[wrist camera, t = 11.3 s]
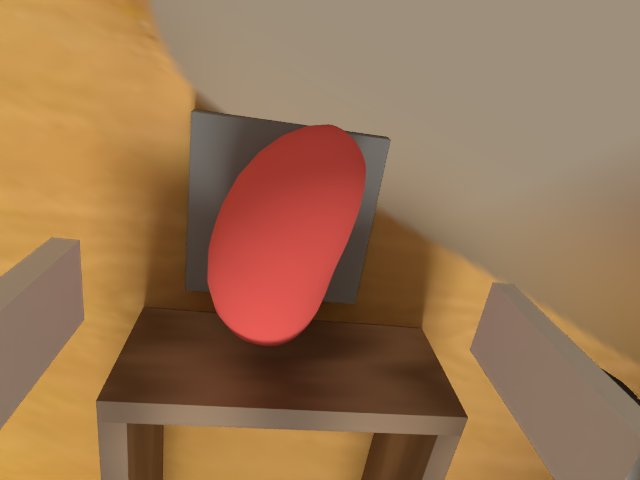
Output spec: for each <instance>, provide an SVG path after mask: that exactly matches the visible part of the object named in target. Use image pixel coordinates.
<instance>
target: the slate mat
mask: <svg viewBox="0 0 640 480" xmlns="http://www.w3.org/2000/svg"><path fill="white" fill-rule="evenodd" d="M306 126H307V125H300V124H293V123H286V122H278V121H272V120H265V119H257V118H251V117H244V116H237V115H230V114H223V113H216V112H209V111H202V110H195V109H194V110H193V111H192V113H191V141H190V169H189V197H188V225H187V253H186V281H185V290H188V291H200V292H210V289H209V286H208V282H207V274H208V250H209V245H210V240H211V236H212V232H213V229H214V226H215V223H216V220H217V217H218V214H219V212H220V209H221V207H222V204H223V202H224V200H225V198H226V197H227V195H228V193H229V191H230V190H231V188H232V186H233V184H234V182H235V181H236V179H237V177H238V175H239V174H240V173H241V172H242V171H243V170H244V169H245V168H246V166H247V165H248V164H249V163H250V162H251V161H252V160H253V159H254V157H255V156H256V155H257V154H258V153H259V152H260V151H262V150H263V149H264V148H266V147H267V146H269V145H270V144H271V143H273V142H274V141H275V140H277V139H278V138H280V137H281V136H283V135H285V134H288V133H290V132H293V131H295V130H298V129H300V128H303V127H306ZM345 132H346V133H347V134H349V135H350V136H351V137H352V138H353V139H354V141H355V142H356V143H357V145H358V146H359V148H360V150H361V152H362V154H363V157H364V159H365V164H366V176H365V188H364V192H363V197H362V201H361V205H360V209H359V212H358V215H357V218H356V221H355V224H354V227H353V229H352V232H351V234H350V237H349V239H348V242H347V244H346V246H345V249H344V251H343V253H342V255H341V257H340V259H339V261H338V263H337V266H336V268H335V270H334V272H333V275H332V278H331V280H330V283H329V286H328V288H327V291H326V294H325V296H324V298H323V300H322V302H333V303H346V304H355V302H356V297H357V292H358V288H359V283H360V279H361V274H362V269H363V265H364V260H365V256H366V251H367V246H368V242H369V237H370V232H371V228H372V223H373V219H374V214H375V209H376V205H377V200H378V195H379V191H380V186H381V181H382V177H383V172H384V168H385V163H386V158H387V154H388V149H389V145H390V139H389V138H388V137H384V136H377V135H370V134H363V133H356V132H349V131H345Z"/></svg>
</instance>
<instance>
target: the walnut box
mask: <svg viewBox="0 0 640 480" xmlns="http://www.w3.org/2000/svg"><path fill="white" fill-rule="evenodd" d="M96 408H97V423H98V438H99V453H100V469H101V480H163V425H185V426H211V427H238V428H264V429H290V430H317V431H343V432H370V433H374V436H373V440H372V444H371V447H370V451H369V455H368V458H367V462H366V465H365V469H364V473H363V476H362V480H444V479H445V476H446V474H447V471H448V469H449V466H450V463H451V461H452V458H453V456H454V453H455V450H456V448H457V445H458V443H459V440H460V437H461V435H462V432H463V430H464V427H465V424H466V422H467V419H468V417H467V415H466V413H465V411H464V409H463V407H462V405H461V403H460V401H459V399H458V397H457V395H456V393H455V391H454V390H453V388H452V386H451V384H450V382H449V380H448V378H447V376H446V374H445V372H444V370H443V368H442V366H441V365H440V363H439V361H438V359H437V357H436V355H435V353H434V351H433V349H432V347H431V345H430V343H429V341H428V339H427V338H426V336H425V334H424V332H423V330H422V328H409V327H396V326H383V325H370V324H356V323H343V322H330V321H317V320H311V322H310V323H309V325H308V326H307V327H306V328H305V329H304V330H303V331H302V332H301V333H300V334H299V335H298V336H297V337H295V338H294V339H292V340H291V341H289V342H287V343H284V344H282V345H278V346H261V345H256V344H252V343H249V342H246V341H244V340H242V339H240V338H239V337H237V336H236V335H235V334H234V333H233V332H232V331H231V330H230V329H229V327H228V326H227V325H226V324H225V323H224V322H223V320H222V319H221V318H220V317H219V315H218V314H217V313H211V312H198V311H185V310H172V309H159V308H145V307H143V309H142V311H141V313H140V315H139V317H138V319H137V321H136V323H135V325H134V327H133V329H132V331H131V333H130V335H129V337H128V339H127V341H126V343H125V345H124V347H123V349H122V351H121V353H120V355H119V357H118V359H117V361H116V363H115V365H114V367H113V369H112V371H111V373H110V374H109V376H108V378H107V380H106V382H105V384H104V386H103V388H102V390H101V392H100V394H99V396H98V398H97V400H96Z"/></svg>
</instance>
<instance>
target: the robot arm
mask: <svg viewBox="0 0 640 480" xmlns="http://www.w3.org/2000/svg"><path fill="white" fill-rule="evenodd" d="M83 320H84V308H83V291H82V274H81V257H80V241H79V240H73V239H63V238H53V237H52V238H50V239H49V240H48V241H47V242H45V243H44V244H43V245H41V246H40V247H39V248H37V249H36V250H35V251H34V252H32V253H31V254H30V255H28V256H27V257H26V258H25V259H23V260H22V261H21V262H19V263H18V264H17V265H15V266H14V267H13V268H12V269H10V270H9V271H8V272H6V273H5V274H4V275H3V276H1V277H0V430H1V428H2V427H3V426H4V424H5V423H6V422H7V420H8V419H9V418H10V416H11V415H12V414H13V412H14V411H15V410H16V408H17V407H18V406H19V404H20V403H21V402H22V401H23V399H24V398H25V397H26V395H27V394H28V393H29V391H30V390H31V389H32V387H33V386H34V385H35V383H36V382H37V381H38V379H39V378H40V377H41V376H42V374H43V373H44V372H45V370H46V369H47V368H48V366H49V365H50V364H51V362H52V361H53V360H54V358H55V357H56V356H57V354H58V353H59V352H60V351H61V349H62V348H63V347H64V345H65V344H66V343H67V341H68V340H69V339H70V337H71V336H72V335H73V333H74V332H75V331H76V329H77V328H78V327H79V326H80V324H81V323H82V322H83ZM470 351H471V352H472V354H473V355H474V357H475V358H476V360H477V361H478V363H479V365H480V366H481V368H482V369H483V371H484V372H485V374H486V375H487V377H488V378H489V380H490V381H491V383H492V385H493V386H494V388H495V389H496V391H497V392H498V394H499V395H500V397H501V398H502V400H503V401H504V403H505V405H506V406H507V408H508V409H509V411H510V412H511V414H512V415H513V417H514V418H515V420H516V421H517V423H518V424H519V426H520V428H521V429H522V431H523V432H524V434H525V435H526V437H527V438H528V440H529V441H530V443H531V444H532V446H533V448H534V449H535V451H536V452H537V454H538V455H539V457H540V458H541V460H542V461H543V463H544V464H545V466H546V467H547V469H548V471H549V472H550V474H551V475H552V477H553V478H554V480H640V400H639V399H637V396H636V395H635V394H634V393H633V392H632V391H631V390H630V389H629V388H628V387H627V386H626V385H625V384H624V383H623V382H621V381H620V380H618V379H617V378H615V377H614V376H612V375H611V374H609V373H608V372H606V371H605V370H603V369H601V368H600V367H599V366H598V365H597V364H596V363H595V362H594V361H593V360H592V359H590V358H589V357H588V356H587V355H586V354H585V353H584V352H583V351H582V350H581V349H580V348H579V347H578V346H577V345H576V344H575V343H574V342H573V341H572V340H571V339H570V338H569V337H568V336H567V335H566V334H565V333H564V332H563V331H561V330H560V329H559V328H558V327H557V326H556V325H555V324H554V323H553V322H552V321H551V320H550V319H549V318H548V317H547V316H546V315H545V314H544V313H543V312H542V311H541V310H540V309H539V308H538V307H537V306H536V305H535V304H533V303H532V302H531V301H530V300H529V299H528V298H527V297H526V296H525V295H524V294H523V293H522V292H521V291H520V290H519V289H518V288H517V287H516V286H515V285H514V284H504V283H494V282H493V283H492V286H491V289H490V292H489V295H488V298H487V301H486V304H485V307H484V310H483V313H482V316H481V319H480V322H479V325H478V328H477V331H476V333H475V336H474V339H473V342H472V345H471V348H470Z"/></svg>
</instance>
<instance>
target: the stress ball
mask: <svg viewBox="0 0 640 480" xmlns="http://www.w3.org/2000/svg"><path fill="white" fill-rule="evenodd" d="M365 176H366V164H365V159H364V157H363V154H362V152H361V150H360V148H359V146H358V145H357V143H356V142H355V141H354V139H353V138H352V137H351V136H350V135H349V134H347V133H346V132H345V131H344V130H342V129H340V128H338V127H336V126H333V125H315V126H306V127H303V128H300V129H298V130H295V131H293V132H290V133H288V134H285V135H283V136H281V137H280V138H278V139H277V140H275V141H274V142H273V143H271V144H270V145H269V146H267V147H266V148H264V149H263V150H262V151H260V152H259V153H258V154H257V155H256V156H255V157H254V159H253V160H252V161H251V162H250V163H249V164H248V165H247V166H246V168H245V169H244V170H243V171H242V172H241V173H240V174H239V175H238V177H237V179H236V181H235V182H234V184H233V186H232V188H231V190H230V191H229V193H228V195H227V197H226V198H225V200H224V202H223V204H222V207H221V209H220V212H219V214H218V217H217V220H216V223H215V226H214V229H213V232H212V236H211V240H210V245H209V250H208V274H207V282H208V286H209V289H210V293H211V296H212V300H213V303H214V307H215V310H216V312H217V314H218V315H219V317H220V318H221V319H222V320H223V322H224V323H225V324H226V325H227V326H228V327H229V329H230V330H231V331H232V332H233V333H234V334H235V335H236V336H237V337H239V338H240V339H242V340H244V341H246V342H249V343H252V344H256V345H261V346H278V345H282V344H284V343H287V342H289V341H291V340H292V339H294V338H295V337H297V336H298V335H299V334H300V333H301V332H302V331H303V330H304V329H305V328H306V327H307V326H308V325H309V323H310V322H311V320H312V319H313V317H314V316H315V314H316V312H317V311H318V309H319V307H320V304H321V302H322V300H323V298H324V296H325V294H326V291H327V288H328V286H329V283H330V280H331V278H332V275H333V272H334V270H335V268H336V266H337V263H338V261H339V259H340V257H341V255H342V253H343V251H344V249H345V246H346V244H347V242H348V239H349V237H350V234H351V232H352V229H353V227H354V224H355V221H356V218H357V215H358V212H359V209H360V205H361V201H362V197H363V192H364V188H365Z"/></svg>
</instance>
